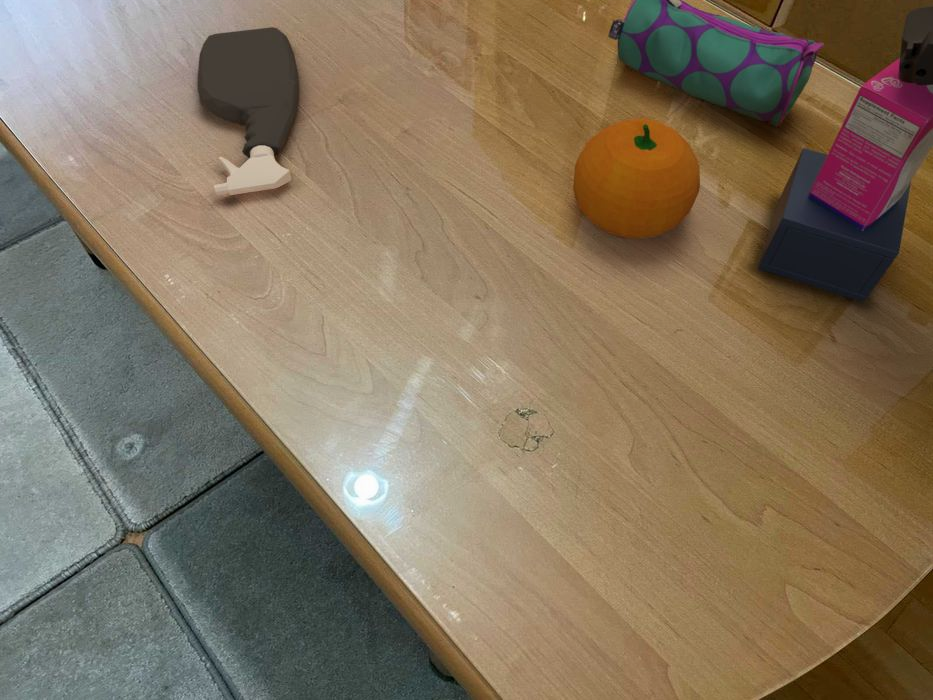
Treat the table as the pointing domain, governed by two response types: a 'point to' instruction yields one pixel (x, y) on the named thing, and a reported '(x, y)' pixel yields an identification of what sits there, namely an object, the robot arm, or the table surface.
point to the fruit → (636, 178)
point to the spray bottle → (251, 100)
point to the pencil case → (715, 57)
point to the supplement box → (877, 149)
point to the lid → (827, 224)
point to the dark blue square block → (820, 258)
